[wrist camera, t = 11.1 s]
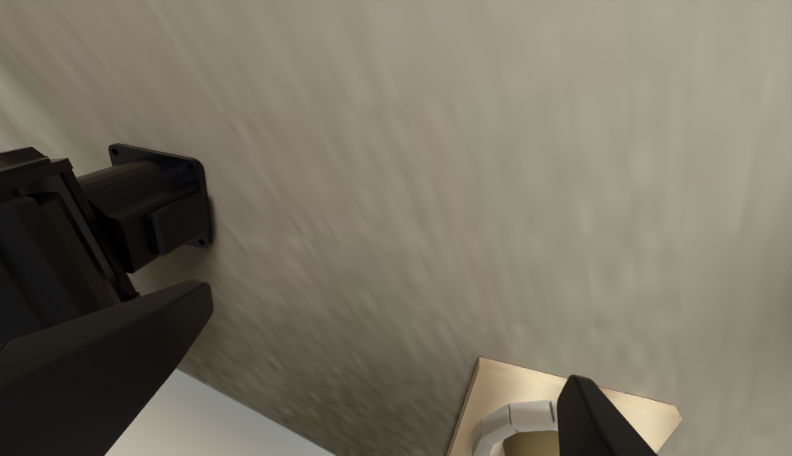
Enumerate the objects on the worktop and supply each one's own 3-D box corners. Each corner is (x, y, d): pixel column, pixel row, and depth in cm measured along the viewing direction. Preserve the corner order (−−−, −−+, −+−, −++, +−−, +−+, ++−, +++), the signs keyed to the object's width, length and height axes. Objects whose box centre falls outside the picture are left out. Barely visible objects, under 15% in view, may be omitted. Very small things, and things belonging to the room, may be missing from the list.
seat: (444, 461, 31) (442, 492, 29) (479, 356, 25) (479, 385, 23) (598, 506, 29) (608, 542, 27) (674, 405, 23) (695, 442, 21)
